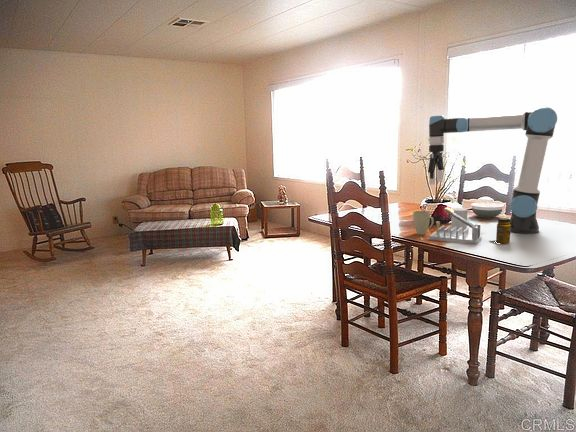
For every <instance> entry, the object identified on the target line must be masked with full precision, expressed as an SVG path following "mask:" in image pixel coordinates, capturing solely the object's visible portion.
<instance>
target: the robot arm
mask: <svg viewBox="0 0 576 432" xmlns="http://www.w3.org/2000/svg"><path fill="white" fill-rule="evenodd" d="M428 122H429V124H428V129H429V130H428V134H429V136H428V138H427V139H428V143H429V146H428V152H429V153H430V154H429V162H428V163H429V164H428V170H427V173H429V185H431V186H432V185H433V186H434V185H436V182H440V183H442V182H443V171H444V170H445V167H444V160H443V152H444V143H445V142H444V141H445V136H444V135H445V134H452V133H454V134H455V133H465V132H466V133H469V132H483V131H500V130H518V129H519V130H521V129H522V130H523V131H525V135H524V136H526V137H527V143H526V147H525V150H524V151H525V152H524V154H523V156H524V157H523V160H522V164H521V165H522V166H521V169H520V170H521V171H520V176H519V179H518V183H517V184H518V185H517V186H516V187H514V188H513V189H512V196H511V201H510V204H509V208H510V211H511V212H510V213H511V215H510V217H509V219H510V225H511V230H510V233H511V232H512V233H518V234H536V233H539V231H540V227H539V223H538V218H537V210H538V204H539V199H540V194H541V191H540V190H539V188H538V187H539V183H540V179H541V178H540V177H541V173H542V170H543V166H544V161H545V156H546V151H547V146H548V142H549V140H550V139H552V138H553V137H554V134H555V133H554V132H555V129H556V128H555V127H556V124H557V123H558V114H557V113H556V110H554V109H552V108H551V107H547V106H541V107H537V108H534V110H533V109H532V110H527V111H523V112H522V113H513V114H503V115H502V114H500V115H487V116H476V117H475V116H474V117H472V116H471V117H454V118H453V117H452V118H445V116H444V115H433V116H432V115H431V116H430V117H429V121H428ZM436 167H437V168H436ZM435 171H436V172H435ZM436 175H437V176H436ZM436 180H437V181H436Z"/></svg>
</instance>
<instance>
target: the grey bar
mask: <svg viewBox="0 0 576 432" xmlns="http://www.w3.org/2000/svg"><path fill="white" fill-rule="evenodd" d="M452 209H453V208H450V207H449V206H447V207H445V208H443V210H442V211H444V213H447V214H449V215H450V216H453V217H455V218H456V219H458V220H459V221H461V222H463V223H464V224H466V225H467V227H468V228H470V229H472V227H478V230H479V229H480V230H481V226H480V227H479V226H475V224H473V223H472V222H470V221H469V220H468V219H467V220H465V219H464V218H462V217H461V216H459V215H457V214H456V213H454V211H453V210H452Z"/></svg>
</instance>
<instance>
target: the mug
mask: <svg viewBox="0 0 576 432" xmlns="http://www.w3.org/2000/svg"><path fill="white" fill-rule="evenodd" d="M412 215H413V225H414V229H415V233H416V234H417V235H426V234H427V232H428V230H429V229H430V228H432V226H433V225H434V223H435V221H434V220H435V219H434V217H432V216H431V211H429V210H428V211H427V210H414V211H413V212H412ZM430 220H431V221H430ZM430 223H431V224H430ZM429 225H430V226H429Z"/></svg>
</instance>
